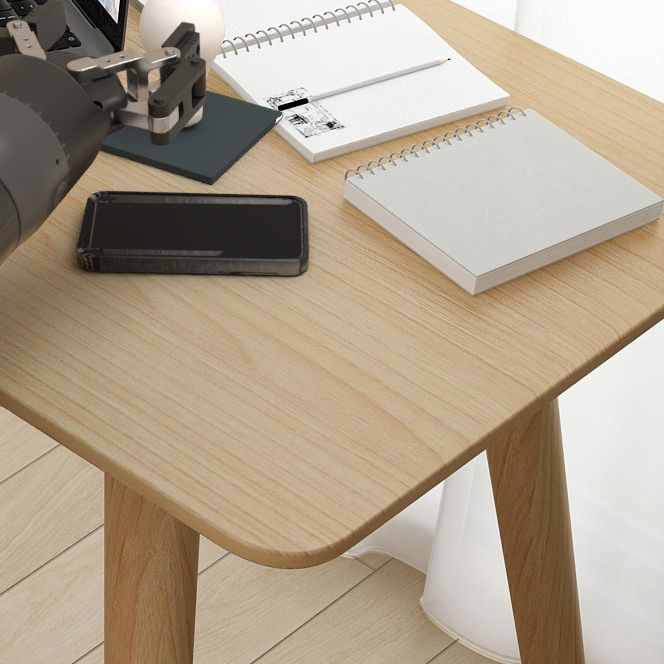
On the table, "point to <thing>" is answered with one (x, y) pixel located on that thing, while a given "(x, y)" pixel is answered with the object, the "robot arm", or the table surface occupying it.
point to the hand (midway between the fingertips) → (124, 25)
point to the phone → (194, 233)
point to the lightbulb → (166, 15)
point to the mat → (200, 139)
